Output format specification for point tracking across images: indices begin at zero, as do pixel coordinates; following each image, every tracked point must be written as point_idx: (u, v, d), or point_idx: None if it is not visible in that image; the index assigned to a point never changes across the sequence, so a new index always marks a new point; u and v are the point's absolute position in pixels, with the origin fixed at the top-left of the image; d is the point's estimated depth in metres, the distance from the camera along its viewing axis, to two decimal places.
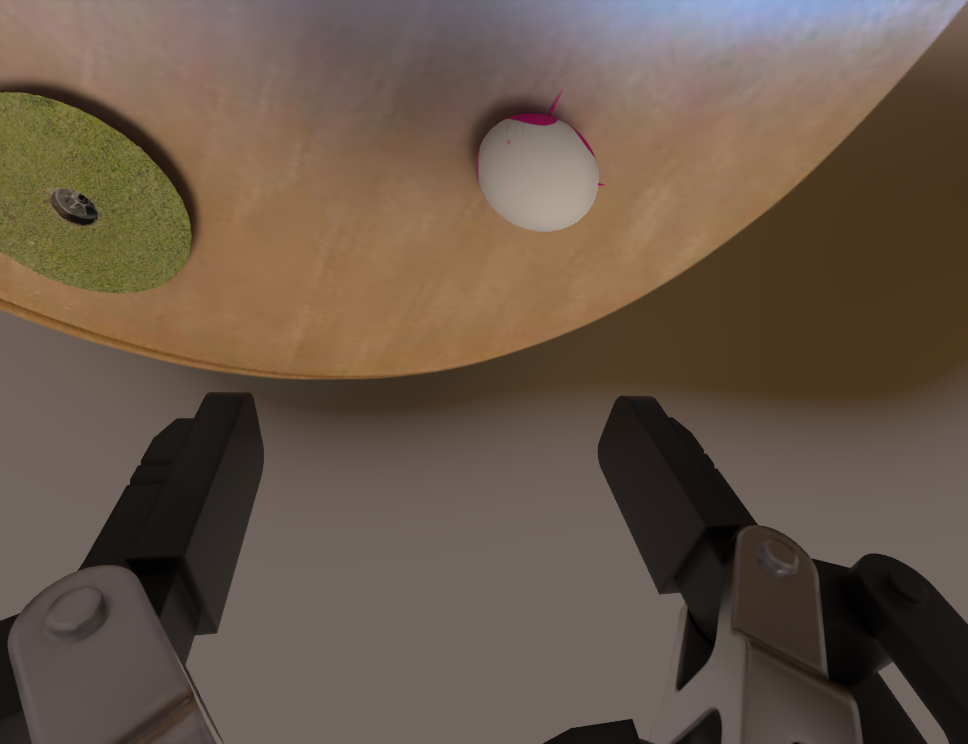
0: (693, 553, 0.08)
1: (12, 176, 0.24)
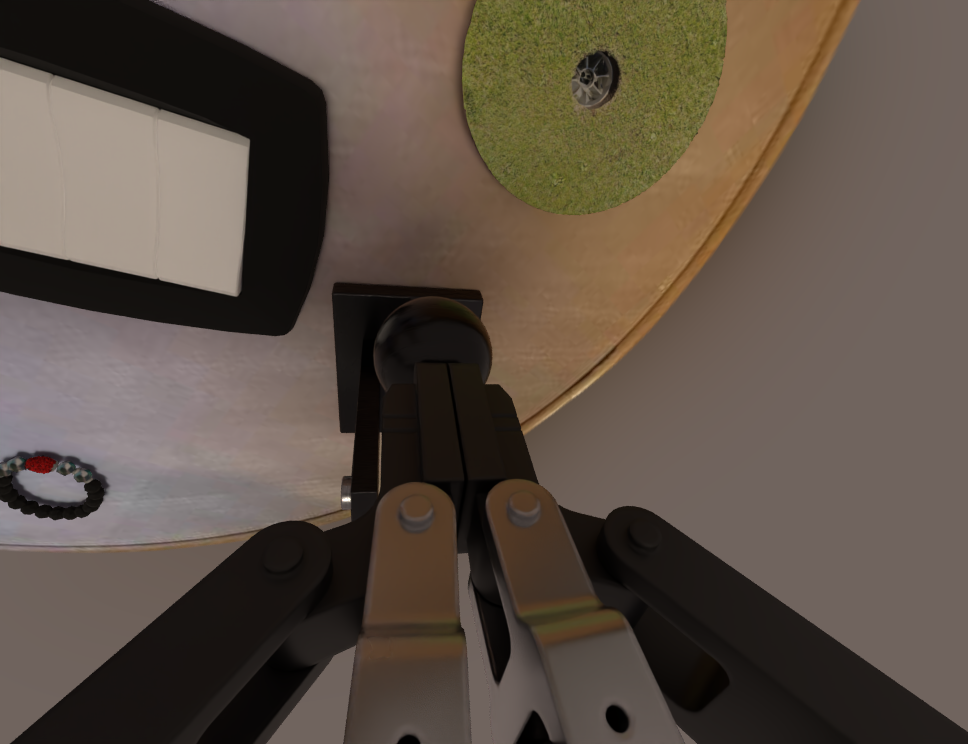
0: (468, 509, 0.08)
1: (569, 145, 0.21)
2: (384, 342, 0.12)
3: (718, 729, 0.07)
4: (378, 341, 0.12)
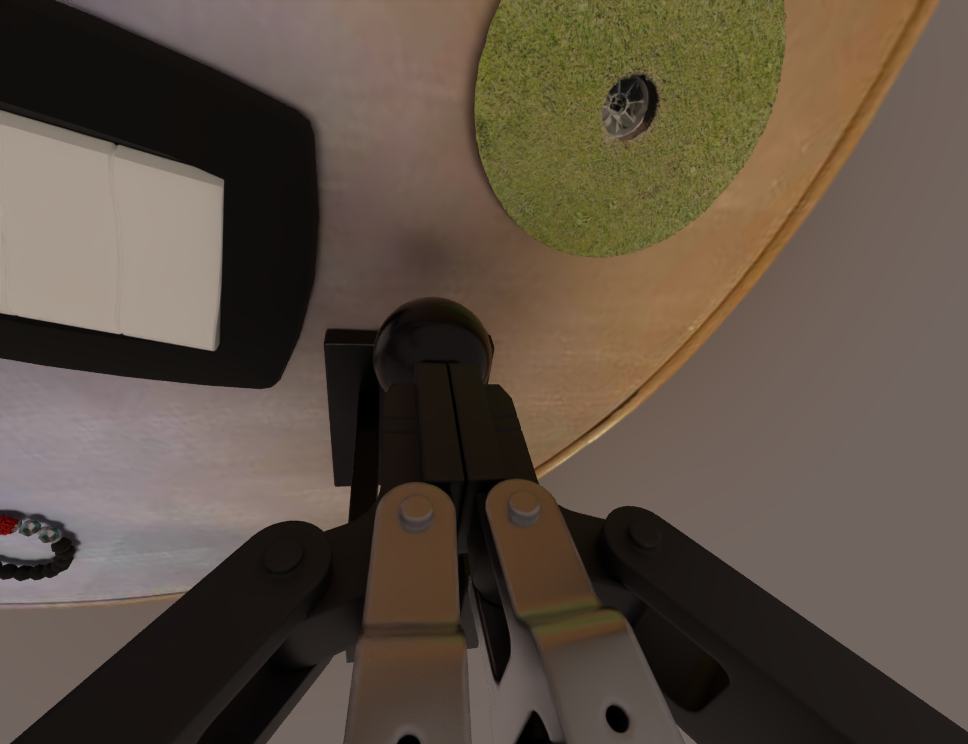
0: (468, 509, 0.08)
1: (597, 181, 0.18)
2: (384, 332, 0.12)
3: (718, 729, 0.07)
4: (378, 335, 0.12)
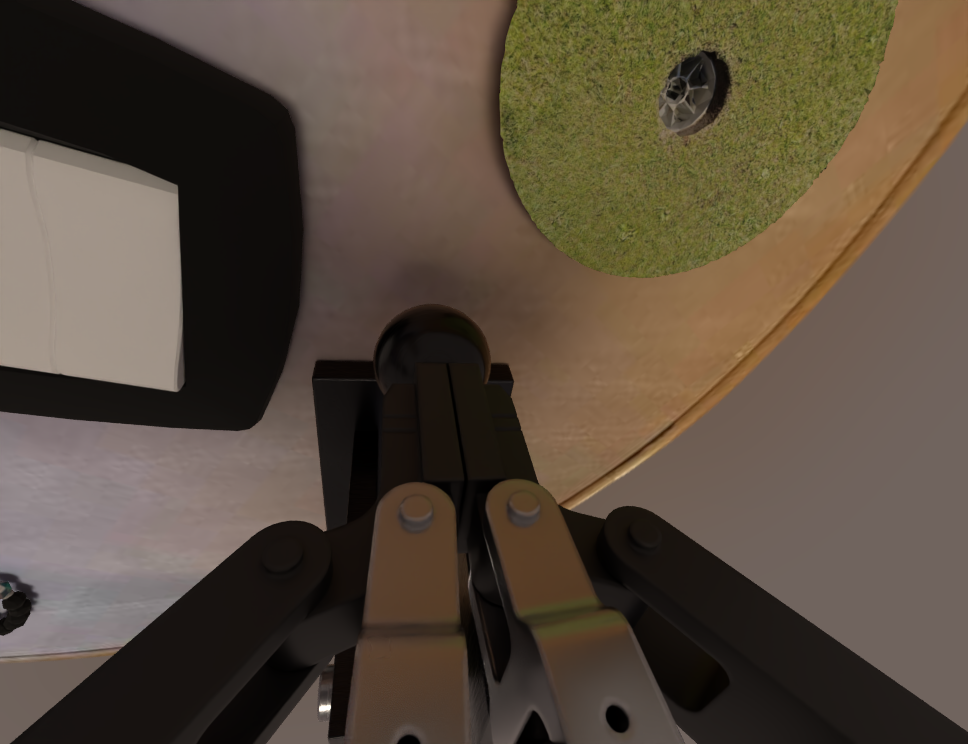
0: (468, 509, 0.08)
1: (647, 186, 0.14)
2: (384, 332, 0.12)
3: (718, 729, 0.07)
4: (378, 338, 0.12)
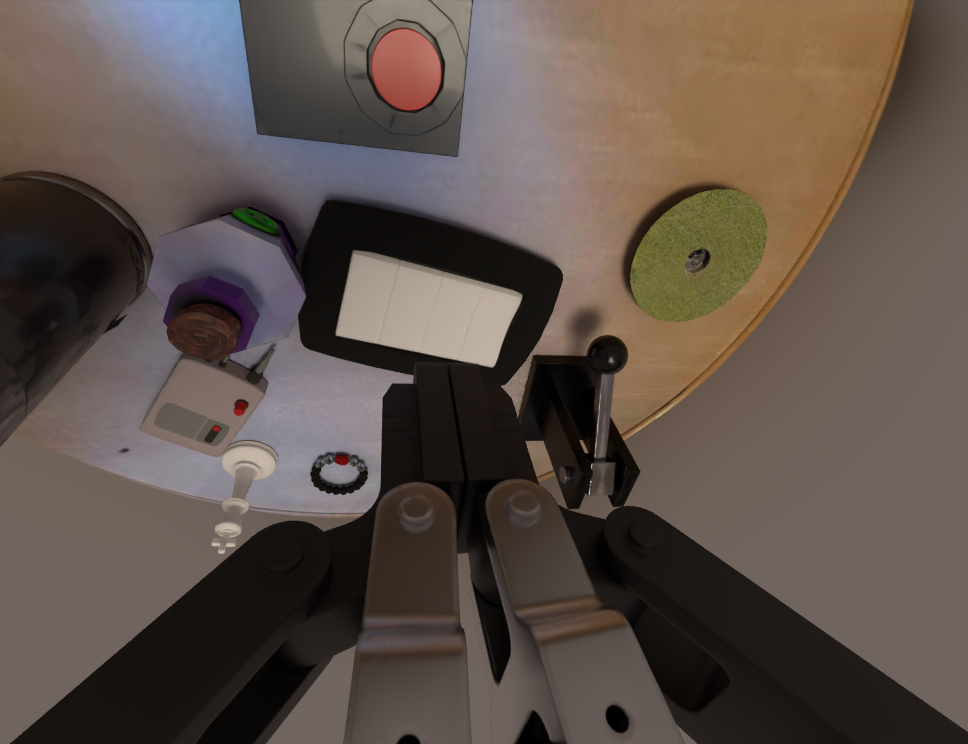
0: (468, 509, 0.08)
1: (680, 289, 0.39)
2: (594, 344, 0.36)
3: (718, 729, 0.07)
4: (591, 346, 0.37)
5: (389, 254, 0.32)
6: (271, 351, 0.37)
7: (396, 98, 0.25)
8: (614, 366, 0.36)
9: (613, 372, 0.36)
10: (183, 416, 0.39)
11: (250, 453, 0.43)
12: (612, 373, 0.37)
